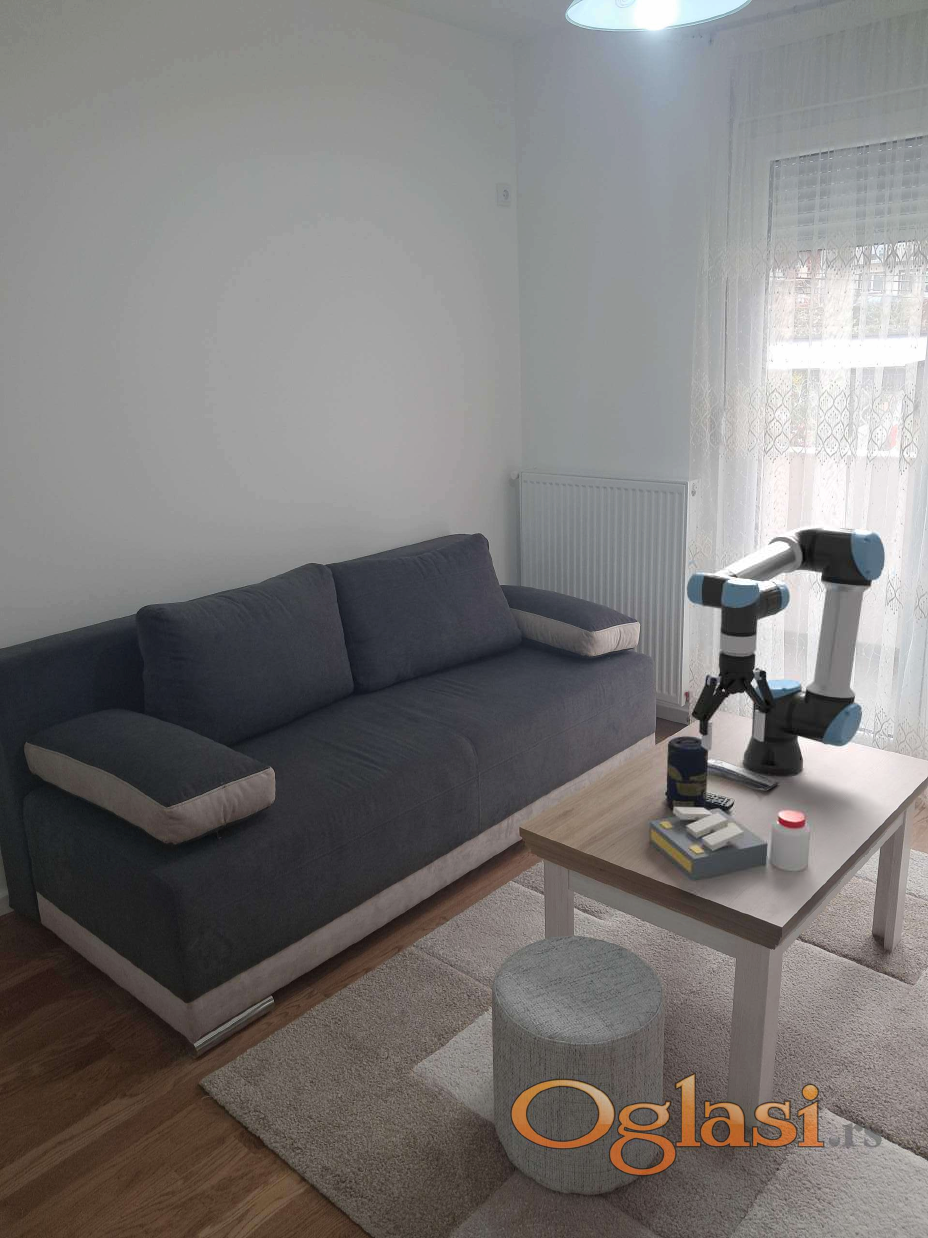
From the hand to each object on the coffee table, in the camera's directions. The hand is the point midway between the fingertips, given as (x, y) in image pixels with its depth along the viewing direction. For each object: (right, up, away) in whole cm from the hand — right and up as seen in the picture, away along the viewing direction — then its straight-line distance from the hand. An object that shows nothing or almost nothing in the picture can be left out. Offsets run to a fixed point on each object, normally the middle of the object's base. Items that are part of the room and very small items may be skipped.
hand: (732, 743), depth 208 cm
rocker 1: (-8, -16, +3) cm, 19 cm away
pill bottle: (+10, -25, -6) cm, 28 cm away
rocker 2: (-6, -18, -3) cm, 19 cm away
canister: (-5, -18, +21) cm, 28 cm away
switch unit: (-6, -24, -1) cm, 25 cm away
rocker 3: (-4, -19, -8) cm, 21 cm away
